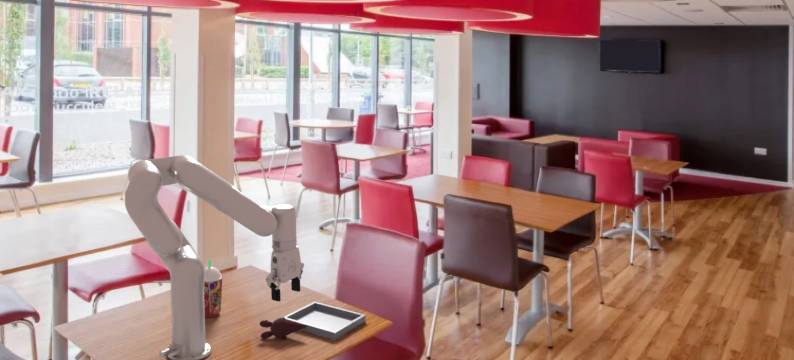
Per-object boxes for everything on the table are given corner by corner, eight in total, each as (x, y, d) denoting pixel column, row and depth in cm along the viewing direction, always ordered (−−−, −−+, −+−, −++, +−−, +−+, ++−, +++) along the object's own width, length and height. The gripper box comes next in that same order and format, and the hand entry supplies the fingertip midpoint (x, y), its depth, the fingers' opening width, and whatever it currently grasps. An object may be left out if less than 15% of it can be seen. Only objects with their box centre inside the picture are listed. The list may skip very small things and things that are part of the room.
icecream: (306, 313, 215) (260, 317, 214) (305, 316, 207) (257, 320, 206) (308, 334, 214) (262, 338, 213) (306, 338, 207) (259, 342, 206)
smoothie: (224, 317, 225) (223, 261, 222) (199, 320, 222) (197, 264, 219) (221, 308, 233) (220, 254, 229) (197, 311, 230) (195, 256, 226)
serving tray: (334, 340, 210) (335, 332, 209) (281, 324, 221) (281, 317, 220) (365, 321, 225) (365, 314, 225) (314, 308, 236) (314, 301, 235)
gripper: (275, 253, 196) (277, 306, 200) (311, 239, 211) (312, 289, 214) (256, 249, 200) (258, 302, 203) (292, 235, 215) (294, 285, 218)
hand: (286, 295), depth 209 cm, fingers open, 9 cm apart
